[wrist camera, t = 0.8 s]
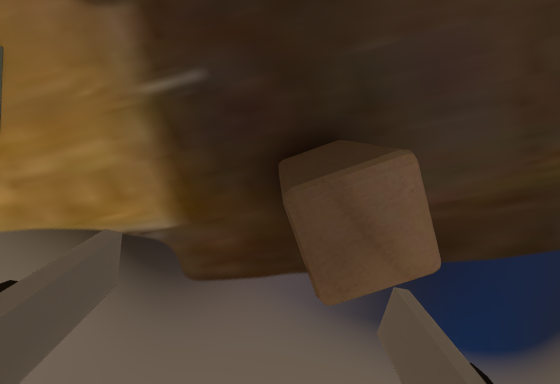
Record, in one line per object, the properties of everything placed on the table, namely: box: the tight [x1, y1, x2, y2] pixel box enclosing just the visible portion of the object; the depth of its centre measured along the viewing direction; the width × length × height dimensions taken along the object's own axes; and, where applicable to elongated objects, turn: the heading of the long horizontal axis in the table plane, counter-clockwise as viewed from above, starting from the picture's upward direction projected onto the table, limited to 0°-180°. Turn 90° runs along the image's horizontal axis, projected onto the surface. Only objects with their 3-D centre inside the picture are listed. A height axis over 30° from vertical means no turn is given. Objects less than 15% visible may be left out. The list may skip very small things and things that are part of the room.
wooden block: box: [278, 140, 441, 305], centre depth 29 cm, size 10×10×20 cm
